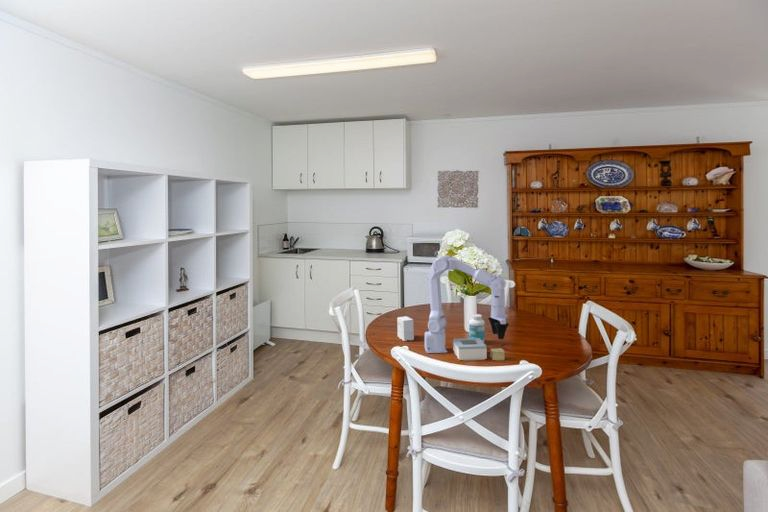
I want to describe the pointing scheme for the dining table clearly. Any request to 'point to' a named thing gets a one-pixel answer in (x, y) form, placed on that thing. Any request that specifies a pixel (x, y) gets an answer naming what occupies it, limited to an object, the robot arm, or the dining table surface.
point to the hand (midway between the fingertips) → (498, 336)
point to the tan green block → (497, 354)
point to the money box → (469, 349)
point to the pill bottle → (477, 327)
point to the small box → (405, 328)
